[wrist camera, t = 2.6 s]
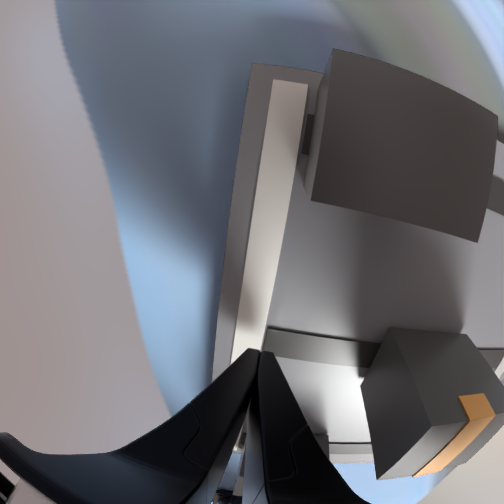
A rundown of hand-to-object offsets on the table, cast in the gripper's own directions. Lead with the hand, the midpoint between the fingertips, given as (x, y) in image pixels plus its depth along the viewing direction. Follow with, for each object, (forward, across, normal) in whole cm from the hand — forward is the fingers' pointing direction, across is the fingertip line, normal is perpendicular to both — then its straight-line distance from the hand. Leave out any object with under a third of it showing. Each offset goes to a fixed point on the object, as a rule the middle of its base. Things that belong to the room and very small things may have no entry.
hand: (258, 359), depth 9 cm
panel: (+2, -6, 0) cm, 7 cm away
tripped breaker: (+1, -6, 0) cm, 6 cm away
